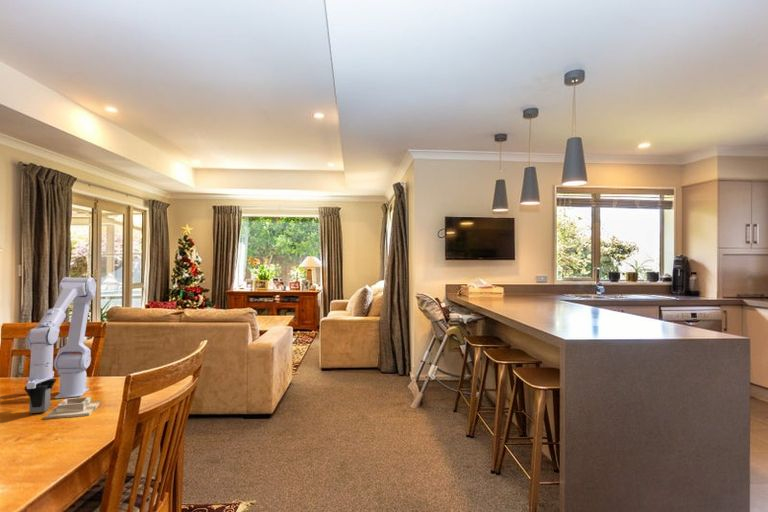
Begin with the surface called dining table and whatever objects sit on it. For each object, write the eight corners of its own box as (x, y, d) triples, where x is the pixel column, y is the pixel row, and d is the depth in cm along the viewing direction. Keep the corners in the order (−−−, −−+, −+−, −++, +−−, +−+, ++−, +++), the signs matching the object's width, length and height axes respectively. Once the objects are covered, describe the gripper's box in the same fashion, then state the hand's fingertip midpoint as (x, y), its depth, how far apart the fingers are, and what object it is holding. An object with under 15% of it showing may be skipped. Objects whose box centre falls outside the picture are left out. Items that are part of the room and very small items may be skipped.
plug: (35, 409, 133) (36, 389, 133) (49, 407, 134) (50, 388, 134) (29, 413, 129) (30, 393, 129) (44, 411, 130) (45, 391, 131)
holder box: (59, 406, 137) (59, 397, 137) (100, 403, 141) (101, 394, 141) (43, 419, 125) (44, 409, 125) (89, 415, 130) (89, 405, 130)
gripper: (37, 359, 137) (35, 398, 137) (15, 369, 124) (13, 413, 123) (61, 357, 140) (60, 396, 139) (43, 368, 126) (41, 411, 126)
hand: (40, 404), depth 132 cm, fingers closed on plug, 4 cm apart
